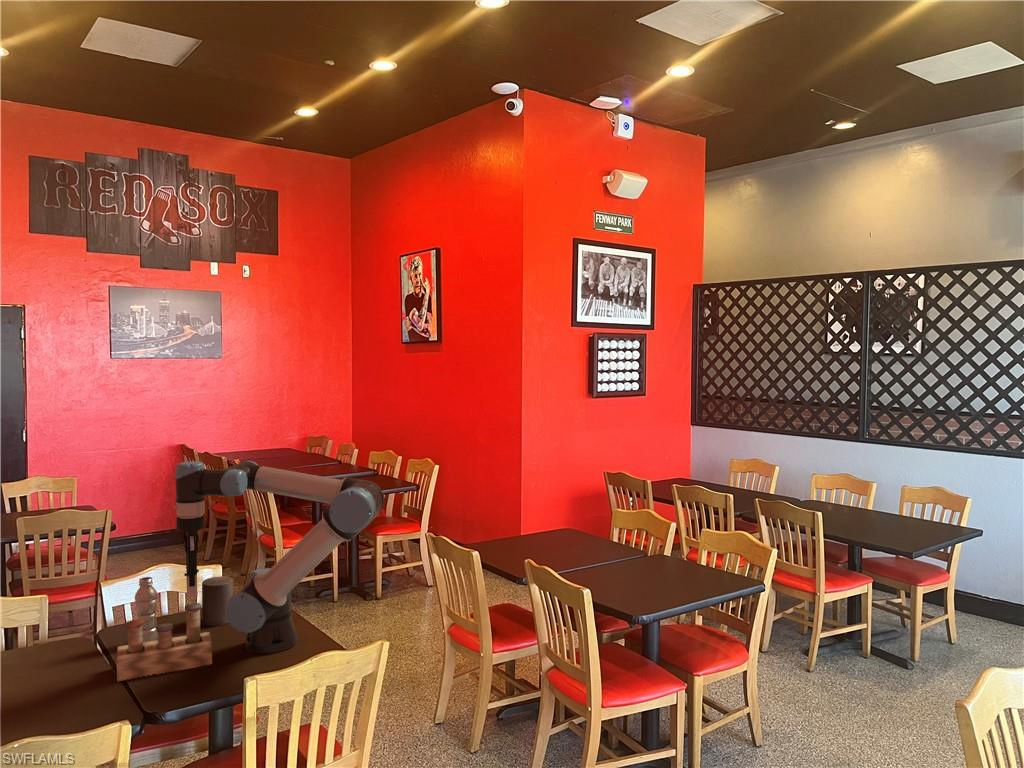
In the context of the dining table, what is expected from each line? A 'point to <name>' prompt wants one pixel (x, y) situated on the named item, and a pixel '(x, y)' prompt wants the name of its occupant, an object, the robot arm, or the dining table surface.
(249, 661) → the dining table surface
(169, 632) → the plug middle
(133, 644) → the plug terracotta
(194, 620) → the plug left
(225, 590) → the pillar candle
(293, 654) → the dining table surface
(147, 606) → the plastic bottle
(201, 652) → the socket block
